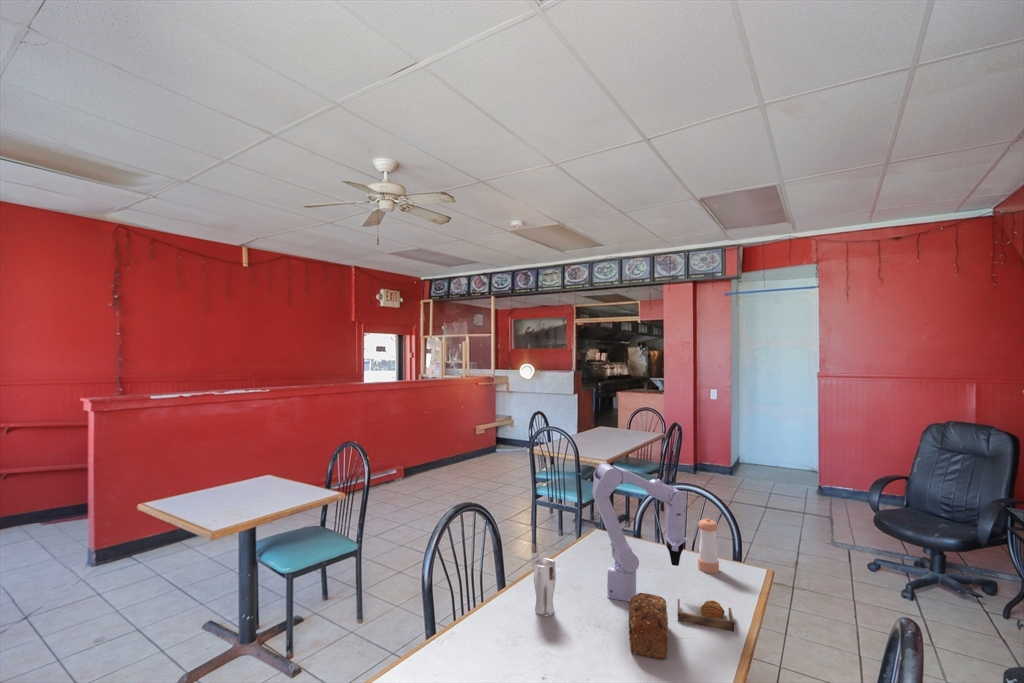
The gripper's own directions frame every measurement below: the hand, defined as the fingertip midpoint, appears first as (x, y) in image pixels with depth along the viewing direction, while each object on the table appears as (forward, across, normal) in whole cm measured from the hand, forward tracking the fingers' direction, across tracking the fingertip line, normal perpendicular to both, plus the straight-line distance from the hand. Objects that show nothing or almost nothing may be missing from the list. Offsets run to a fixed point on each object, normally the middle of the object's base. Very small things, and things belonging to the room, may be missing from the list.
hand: (675, 564), depth 159 cm
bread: (+10, -31, +7) cm, 33 cm away
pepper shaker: (+10, +24, -12) cm, 28 cm away
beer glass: (+10, -27, +39) cm, 48 cm away
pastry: (+10, -12, -11) cm, 19 cm away
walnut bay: (+9, -14, -8) cm, 19 cm away
